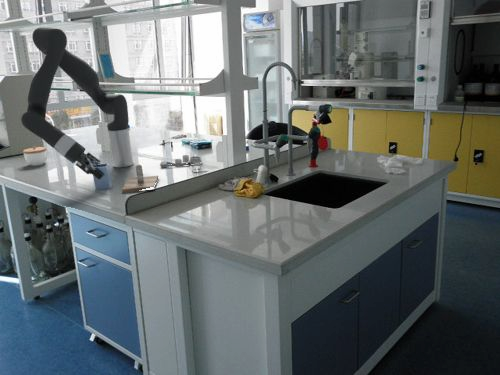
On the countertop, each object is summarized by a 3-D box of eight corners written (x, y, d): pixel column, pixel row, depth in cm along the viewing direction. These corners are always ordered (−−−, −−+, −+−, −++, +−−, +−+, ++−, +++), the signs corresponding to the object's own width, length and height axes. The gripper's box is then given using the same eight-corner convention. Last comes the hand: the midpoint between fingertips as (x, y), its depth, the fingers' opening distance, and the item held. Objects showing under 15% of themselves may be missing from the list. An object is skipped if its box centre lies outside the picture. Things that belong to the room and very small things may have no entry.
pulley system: (178, 161, 222) (155, 167, 211) (178, 152, 221) (154, 157, 209) (222, 169, 207) (200, 176, 195) (222, 159, 206) (199, 165, 194)
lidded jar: (52, 161, 237) (49, 143, 234) (43, 166, 227) (39, 147, 224) (32, 162, 238) (28, 144, 235) (21, 167, 227) (17, 148, 225)
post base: (129, 181, 190) (126, 160, 188) (158, 179, 191) (156, 158, 188) (122, 193, 175) (119, 170, 173) (154, 190, 176) (151, 168, 173)
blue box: (98, 185, 187) (95, 164, 184) (112, 184, 187) (109, 163, 184) (95, 189, 181) (91, 167, 179) (109, 188, 182) (106, 166, 179)
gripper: (69, 145, 171) (105, 172, 175) (80, 138, 185) (113, 163, 189) (57, 160, 172) (93, 186, 176) (69, 151, 186) (102, 176, 190)
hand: (104, 174), depth 183 cm, fingers open, 8 cm apart
